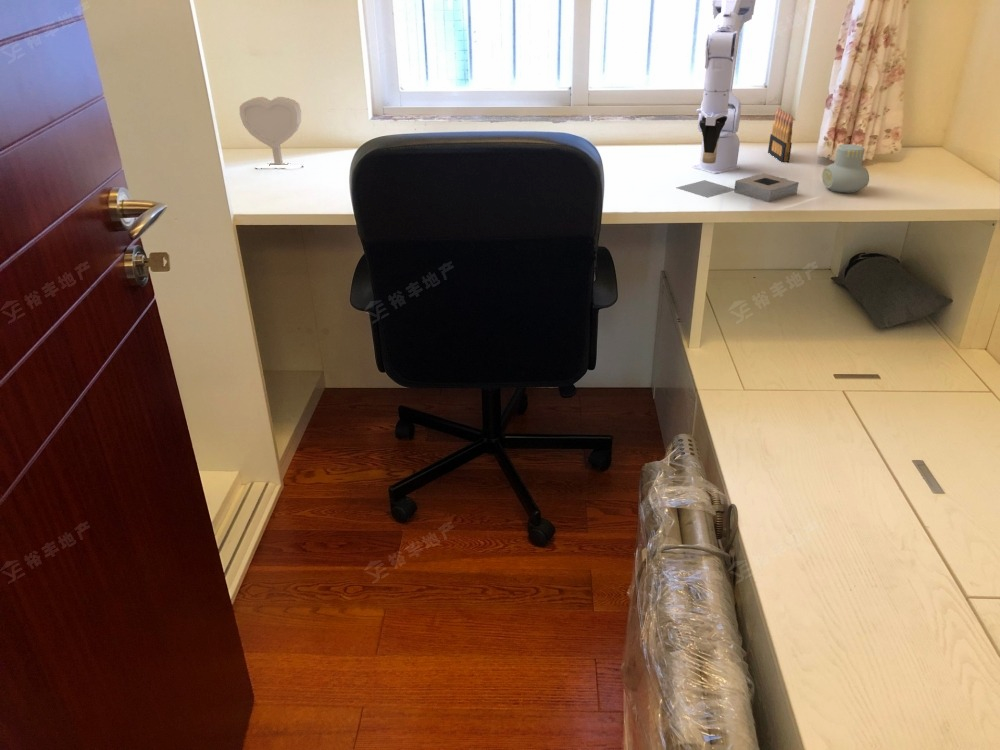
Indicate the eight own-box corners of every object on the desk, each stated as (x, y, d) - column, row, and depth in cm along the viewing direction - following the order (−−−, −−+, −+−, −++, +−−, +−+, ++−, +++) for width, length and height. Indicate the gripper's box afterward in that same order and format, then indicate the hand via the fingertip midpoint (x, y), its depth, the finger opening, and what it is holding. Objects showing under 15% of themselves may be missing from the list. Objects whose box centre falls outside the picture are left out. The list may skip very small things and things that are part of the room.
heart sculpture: (248, 169, 215) (235, 100, 206) (254, 164, 219) (243, 96, 210) (304, 169, 214) (294, 99, 205) (309, 164, 218) (300, 96, 209)
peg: (708, 159, 188) (712, 120, 184) (718, 162, 186) (722, 122, 182) (699, 161, 187) (703, 122, 182) (709, 164, 185) (713, 124, 180)
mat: (704, 181, 196) (704, 180, 196) (736, 190, 189) (736, 189, 189) (675, 188, 191) (675, 187, 191) (707, 198, 184) (707, 197, 184)
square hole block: (761, 185, 192) (763, 173, 190) (796, 195, 185) (798, 182, 183) (733, 193, 187) (735, 180, 186) (768, 203, 180) (770, 190, 178)
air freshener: (869, 196, 183) (878, 152, 178) (833, 197, 183) (841, 153, 178) (851, 182, 192) (860, 141, 187) (817, 183, 193) (825, 141, 188)
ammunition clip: (767, 152, 218) (774, 107, 212) (774, 152, 218) (780, 107, 212) (782, 162, 209) (789, 116, 203) (789, 162, 209) (796, 115, 203)
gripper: (702, 83, 186) (696, 142, 192) (694, 95, 174) (688, 157, 181) (733, 84, 183) (726, 143, 190) (727, 96, 172) (720, 159, 178)
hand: (710, 150), depth 185 cm, fingers closed on peg, 3 cm apart
